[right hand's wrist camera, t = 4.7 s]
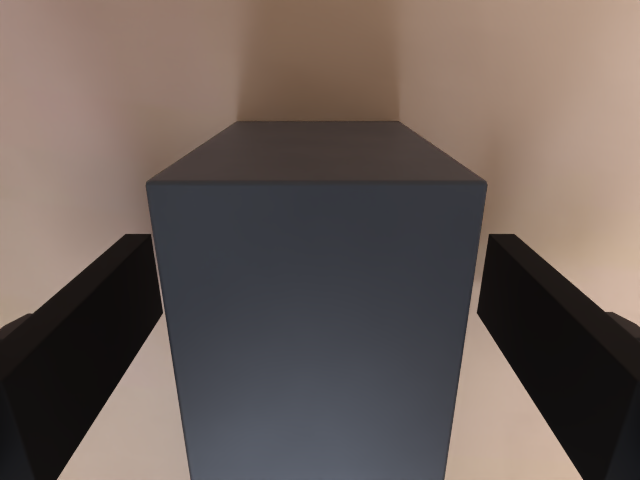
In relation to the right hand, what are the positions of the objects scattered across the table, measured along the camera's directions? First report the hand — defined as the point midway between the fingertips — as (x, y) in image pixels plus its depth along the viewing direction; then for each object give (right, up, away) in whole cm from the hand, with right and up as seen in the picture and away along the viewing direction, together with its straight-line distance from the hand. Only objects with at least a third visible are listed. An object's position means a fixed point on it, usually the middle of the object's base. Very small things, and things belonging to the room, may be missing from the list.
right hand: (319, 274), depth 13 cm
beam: (0, -30, +14) cm, 33 cm away
